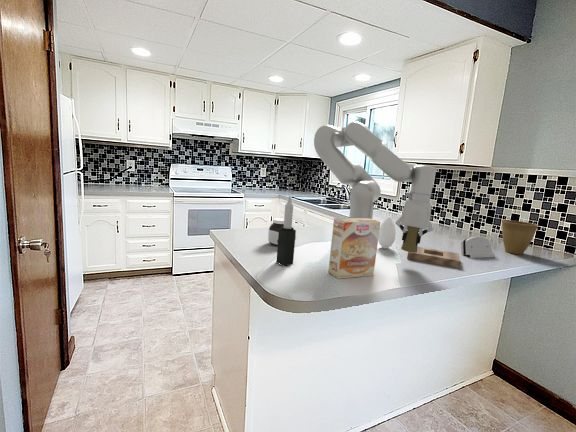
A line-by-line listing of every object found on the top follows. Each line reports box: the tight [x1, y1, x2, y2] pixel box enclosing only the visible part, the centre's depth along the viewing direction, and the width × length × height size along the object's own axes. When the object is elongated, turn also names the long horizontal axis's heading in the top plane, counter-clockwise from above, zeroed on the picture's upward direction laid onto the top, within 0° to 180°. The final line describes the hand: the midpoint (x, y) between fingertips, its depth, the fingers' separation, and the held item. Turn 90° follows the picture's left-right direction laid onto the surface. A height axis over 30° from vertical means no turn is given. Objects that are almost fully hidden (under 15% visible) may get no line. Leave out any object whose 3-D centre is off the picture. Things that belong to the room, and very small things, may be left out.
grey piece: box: [460, 236, 495, 259], centre depth 152 cm, size 17×5×10 cm, turn 111°
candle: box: [276, 195, 297, 266], centre depth 115 cm, size 5×5×25 cm
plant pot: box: [501, 219, 539, 255], centre depth 162 cm, size 15×15×16 cm
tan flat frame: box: [406, 246, 461, 269], centre depth 138 cm, size 20×14×3 cm
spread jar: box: [267, 217, 297, 247], centre depth 143 cm, size 12×11×12 cm
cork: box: [400, 226, 420, 253], centre depth 124 cm, size 6×6×11 cm
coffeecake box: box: [327, 217, 382, 280], centre depth 109 cm, size 15×7×20 cm, turn 114°
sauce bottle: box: [378, 211, 397, 250], centre depth 150 cm, size 8×8×18 cm
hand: (410, 243), depth 124 cm, fingers closed on cork, 4 cm apart
